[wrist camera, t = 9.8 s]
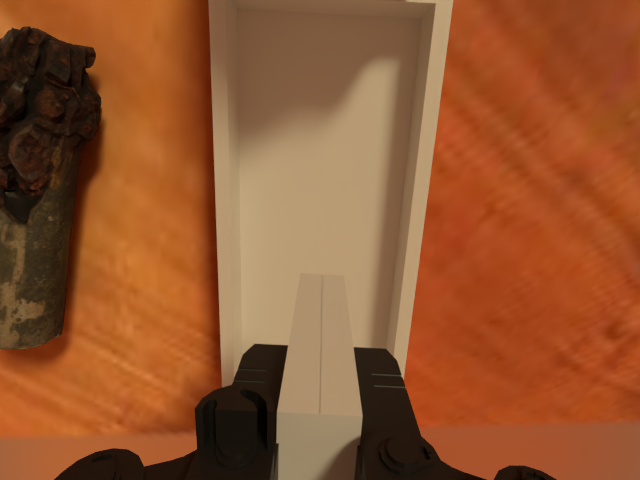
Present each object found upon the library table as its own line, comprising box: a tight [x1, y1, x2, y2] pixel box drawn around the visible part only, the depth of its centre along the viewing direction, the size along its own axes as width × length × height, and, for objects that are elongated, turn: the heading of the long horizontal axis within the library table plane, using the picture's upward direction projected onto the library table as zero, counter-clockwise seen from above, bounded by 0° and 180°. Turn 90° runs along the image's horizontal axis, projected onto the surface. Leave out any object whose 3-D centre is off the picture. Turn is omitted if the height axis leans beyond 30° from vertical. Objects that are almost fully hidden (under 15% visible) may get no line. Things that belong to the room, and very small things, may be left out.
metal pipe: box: [0, 27, 101, 349], centre depth 21 cm, size 18×7×6 cm, turn 161°
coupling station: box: [208, 0, 453, 387], centre depth 18 cm, size 12×33×11 cm, turn 177°
